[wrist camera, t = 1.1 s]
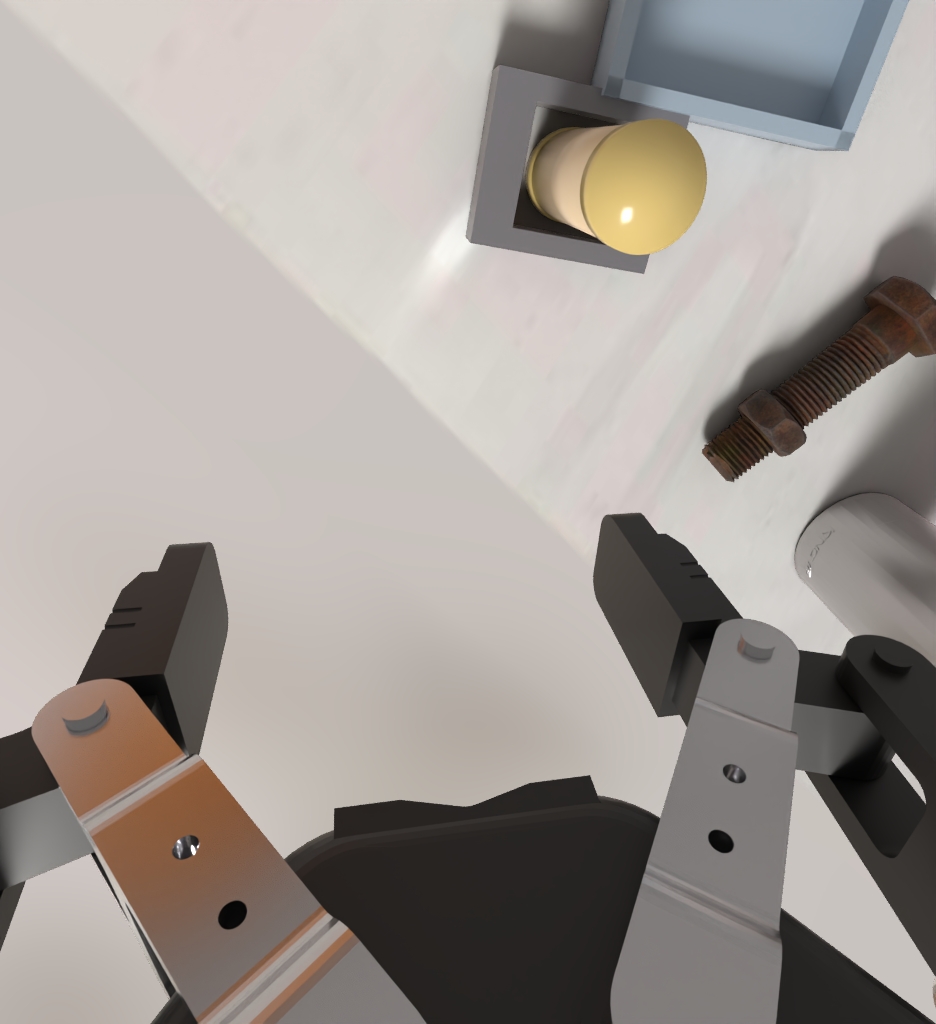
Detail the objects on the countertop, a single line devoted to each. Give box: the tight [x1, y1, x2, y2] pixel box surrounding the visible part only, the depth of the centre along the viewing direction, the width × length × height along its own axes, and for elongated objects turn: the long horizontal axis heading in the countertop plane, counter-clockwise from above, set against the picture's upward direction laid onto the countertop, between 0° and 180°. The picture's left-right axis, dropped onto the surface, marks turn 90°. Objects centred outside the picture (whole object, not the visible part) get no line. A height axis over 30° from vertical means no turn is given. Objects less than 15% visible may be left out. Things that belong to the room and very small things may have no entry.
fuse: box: [526, 119, 707, 255], centre depth 30 cm, size 5×5×13 cm
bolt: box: [702, 276, 936, 482], centre depth 41 cm, size 6×5×15 cm
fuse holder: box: [466, 65, 690, 274], centre depth 34 cm, size 10×8×2 cm
